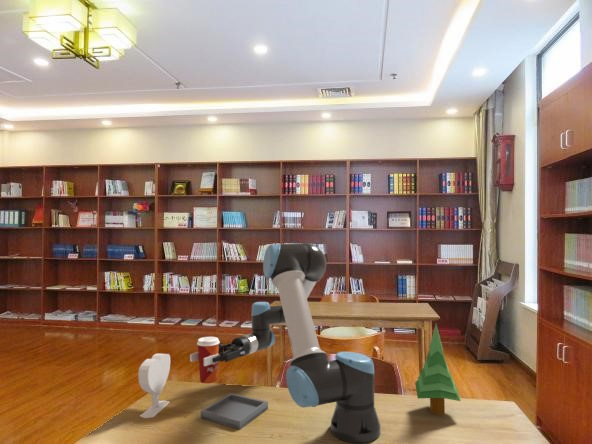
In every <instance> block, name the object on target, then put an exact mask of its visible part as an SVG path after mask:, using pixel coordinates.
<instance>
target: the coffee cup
mask: <svg viewBox="0 0 592 444" xmlns="http://www.w3.org/2000/svg"><path fill="white" fill-rule="evenodd" d="M220 343H221V341H220V340H219V338H218V337H216V336H203V337H200V338H198V339H197V342H196V345H197V352H198V356H199V360H198V368H199V369H198V370H199V381H200V383H202V384H212V383H215V382H217V380H218V369H219V367H218V366H219V362H217V363H214V364H211V365H208V366H204V358H206V357H209V356H212V355H216V354H218V351H219V344H220Z"/></svg>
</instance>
